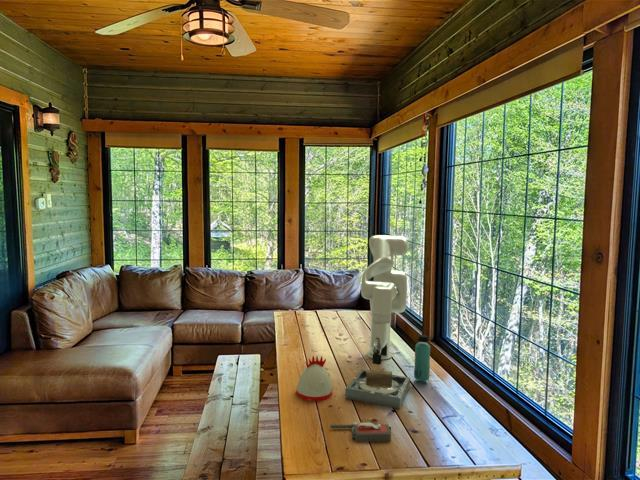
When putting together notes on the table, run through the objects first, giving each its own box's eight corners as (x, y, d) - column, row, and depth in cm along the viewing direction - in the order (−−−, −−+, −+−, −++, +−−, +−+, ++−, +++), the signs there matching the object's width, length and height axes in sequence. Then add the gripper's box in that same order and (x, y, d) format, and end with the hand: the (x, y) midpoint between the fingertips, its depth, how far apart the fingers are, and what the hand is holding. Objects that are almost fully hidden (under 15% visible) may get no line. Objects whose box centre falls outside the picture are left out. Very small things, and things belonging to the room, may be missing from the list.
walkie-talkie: (389, 428, 147) (329, 428, 147) (389, 415, 147) (330, 415, 146) (394, 442, 139) (331, 443, 138) (395, 429, 138) (331, 429, 137)
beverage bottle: (430, 380, 188) (432, 334, 187) (428, 386, 182) (430, 338, 180) (414, 377, 190) (416, 332, 189) (412, 383, 184) (414, 336, 182)
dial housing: (360, 378, 188) (360, 368, 188) (409, 387, 180) (410, 377, 180) (345, 398, 169) (345, 387, 168) (399, 408, 161) (400, 397, 161)
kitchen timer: (335, 400, 167) (336, 361, 166) (299, 402, 165) (299, 363, 163) (328, 385, 181) (329, 349, 179) (295, 386, 178) (295, 350, 177)
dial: (398, 380, 181) (399, 366, 181) (400, 397, 165) (400, 381, 165) (359, 377, 183) (359, 363, 183) (357, 393, 168) (358, 378, 167)
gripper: (377, 310, 181) (376, 350, 183) (366, 322, 165) (364, 365, 167) (395, 312, 179) (393, 353, 181) (385, 324, 163) (384, 369, 165)
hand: (379, 359), depth 174 cm, fingers open, 9 cm apart
